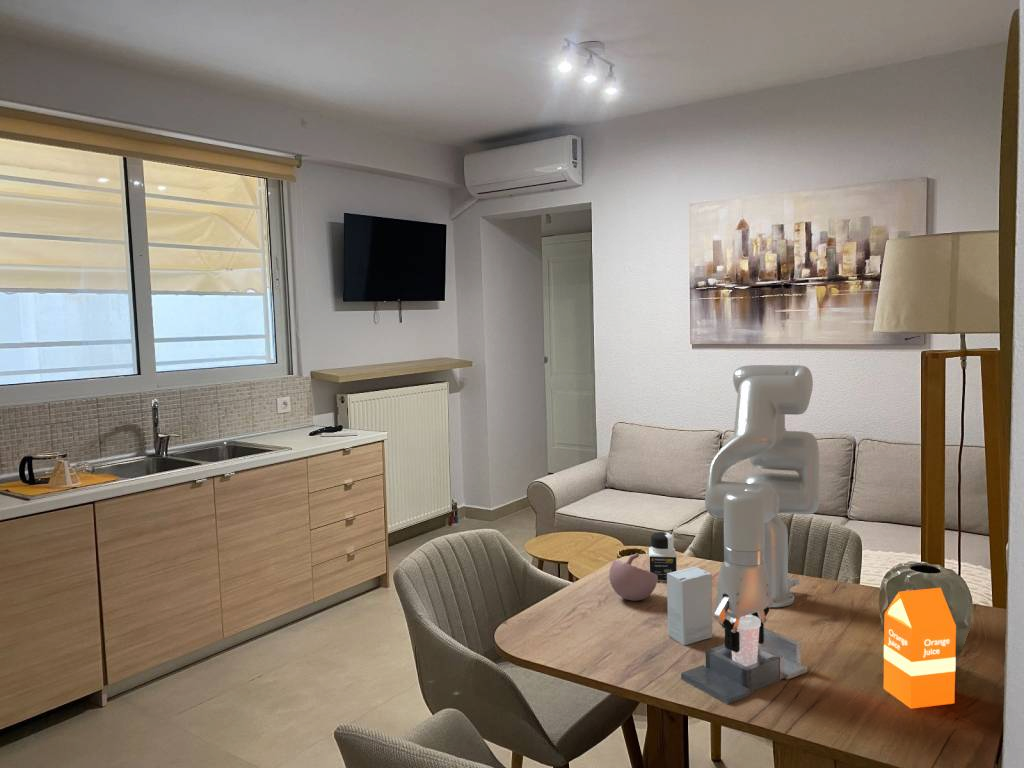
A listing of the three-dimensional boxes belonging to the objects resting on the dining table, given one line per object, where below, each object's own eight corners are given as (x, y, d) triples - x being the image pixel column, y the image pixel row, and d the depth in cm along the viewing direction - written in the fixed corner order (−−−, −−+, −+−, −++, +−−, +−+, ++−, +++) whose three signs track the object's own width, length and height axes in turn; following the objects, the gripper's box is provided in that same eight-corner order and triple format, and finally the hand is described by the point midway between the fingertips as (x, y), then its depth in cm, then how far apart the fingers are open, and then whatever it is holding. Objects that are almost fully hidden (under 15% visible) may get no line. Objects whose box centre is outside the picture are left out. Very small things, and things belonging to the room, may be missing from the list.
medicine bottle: (649, 581, 202) (649, 537, 202) (649, 572, 210) (648, 530, 209) (676, 581, 201) (676, 537, 200) (675, 573, 208) (674, 530, 207)
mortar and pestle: (667, 599, 189) (667, 554, 188) (636, 611, 181) (635, 565, 181) (631, 587, 198) (630, 544, 197) (599, 598, 191) (599, 554, 190)
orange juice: (955, 703, 135) (957, 595, 133) (911, 709, 134) (912, 599, 132) (924, 683, 143) (926, 580, 141) (882, 688, 141) (883, 584, 140)
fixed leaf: (734, 659, 155) (734, 638, 154) (782, 682, 144) (782, 660, 144) (681, 678, 147) (680, 656, 147) (727, 704, 137) (727, 680, 136)
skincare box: (696, 629, 170) (695, 565, 169) (714, 638, 165) (713, 572, 164) (666, 636, 167) (665, 571, 166) (683, 647, 161) (682, 579, 160)
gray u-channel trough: (758, 650, 158) (758, 625, 158) (807, 671, 148) (807, 645, 148) (735, 658, 155) (735, 633, 154) (783, 681, 144) (783, 654, 144)
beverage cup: (742, 673, 143) (742, 602, 142) (721, 660, 149) (721, 592, 148) (767, 667, 146) (767, 596, 145) (746, 654, 151) (746, 587, 150)
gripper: (759, 543, 153) (759, 628, 155) (697, 558, 145) (698, 649, 146) (789, 552, 147) (789, 641, 148) (727, 569, 138) (727, 664, 140)
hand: (744, 644), depth 147 cm, fingers closed on beverage cup, 6 cm apart
